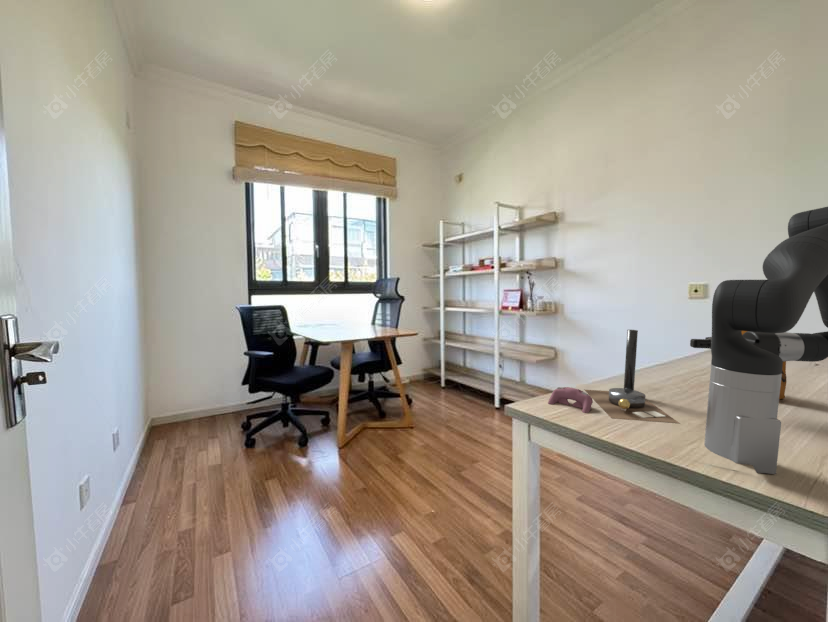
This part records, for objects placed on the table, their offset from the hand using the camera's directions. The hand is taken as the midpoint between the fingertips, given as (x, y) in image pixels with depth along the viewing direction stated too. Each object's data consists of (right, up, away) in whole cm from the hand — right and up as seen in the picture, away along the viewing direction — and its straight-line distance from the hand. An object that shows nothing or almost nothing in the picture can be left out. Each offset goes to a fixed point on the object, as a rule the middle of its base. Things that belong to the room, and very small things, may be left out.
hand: (691, 343), depth 91 cm
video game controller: (-34, -17, -4) cm, 38 cm away
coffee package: (+27, -16, +11) cm, 33 cm away
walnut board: (-19, -17, -3) cm, 26 cm away
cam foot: (-19, -15, -2) cm, 24 cm away
